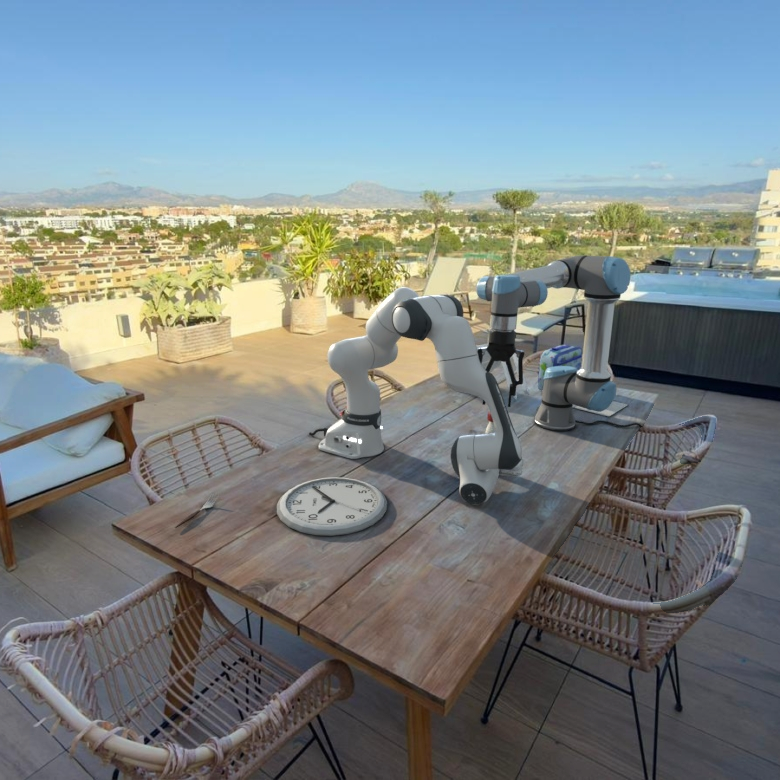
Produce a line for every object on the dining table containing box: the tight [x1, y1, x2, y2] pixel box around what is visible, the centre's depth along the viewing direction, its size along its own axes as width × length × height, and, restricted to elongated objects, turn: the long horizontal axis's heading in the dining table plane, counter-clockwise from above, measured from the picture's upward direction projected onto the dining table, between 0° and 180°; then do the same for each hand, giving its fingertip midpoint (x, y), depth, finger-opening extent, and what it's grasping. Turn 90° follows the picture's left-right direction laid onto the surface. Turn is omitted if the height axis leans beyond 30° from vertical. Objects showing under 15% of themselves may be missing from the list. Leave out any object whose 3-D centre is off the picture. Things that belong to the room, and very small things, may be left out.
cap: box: [487, 410, 493, 422], centre depth 160 cm, size 5×5×2 cm
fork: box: [174, 492, 220, 529], centre depth 137 cm, size 3×16×2 cm, turn 160°
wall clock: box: [276, 476, 388, 537], centre depth 142 cm, size 30×2×30 cm
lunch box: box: [537, 344, 583, 391], centre depth 246 cm, size 26×11×21 cm, turn 134°
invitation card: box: [573, 400, 629, 418], centre depth 226 cm, size 21×1×15 cm
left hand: (492, 451), depth 163 cm, fingers open, 8 cm apart
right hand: (496, 404), depth 159 cm, fingers open, 7 cm apart
